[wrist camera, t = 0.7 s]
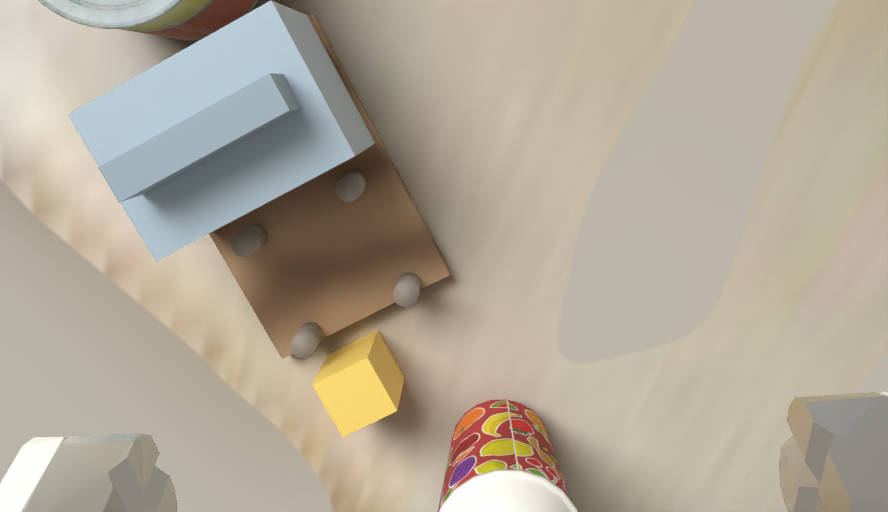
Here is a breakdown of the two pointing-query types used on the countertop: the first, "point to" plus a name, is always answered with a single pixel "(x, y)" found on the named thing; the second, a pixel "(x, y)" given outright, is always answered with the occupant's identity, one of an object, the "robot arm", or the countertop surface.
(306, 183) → the peg board
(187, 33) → the canned food
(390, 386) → the yellow block
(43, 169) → the countertop surface
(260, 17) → the cover
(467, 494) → the smoothie
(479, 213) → the countertop surface
